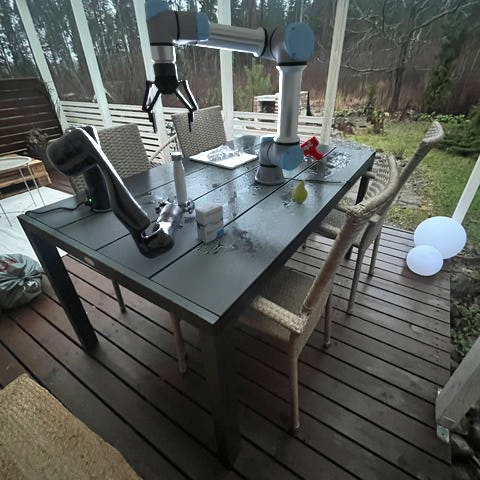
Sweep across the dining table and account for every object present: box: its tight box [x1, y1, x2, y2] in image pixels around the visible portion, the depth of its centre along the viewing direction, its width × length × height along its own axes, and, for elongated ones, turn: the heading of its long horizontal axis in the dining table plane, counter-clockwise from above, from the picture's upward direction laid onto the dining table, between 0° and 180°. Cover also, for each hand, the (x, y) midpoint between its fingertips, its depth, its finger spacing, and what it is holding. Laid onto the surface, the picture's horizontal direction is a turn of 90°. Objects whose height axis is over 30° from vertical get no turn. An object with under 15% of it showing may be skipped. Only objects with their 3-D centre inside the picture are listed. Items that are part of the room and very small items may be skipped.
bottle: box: [172, 160, 188, 206], centre depth 111 cm, size 4×4×23 cm
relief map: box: [189, 144, 258, 170], centre depth 177 cm, size 27×35×5 cm
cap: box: [170, 151, 184, 162], centre depth 105 cm, size 4×4×2 cm
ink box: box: [194, 201, 225, 244], centre depth 94 cm, size 8×5×12 cm, turn 135°
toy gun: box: [300, 135, 324, 163], centre depth 172 cm, size 18×4×15 cm
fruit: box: [291, 174, 311, 204], centre depth 118 cm, size 7×8×12 cm
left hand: (179, 199), depth 109 cm, fingers open, 8 cm apart
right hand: (173, 131), depth 101 cm, fingers open, 12 cm apart
